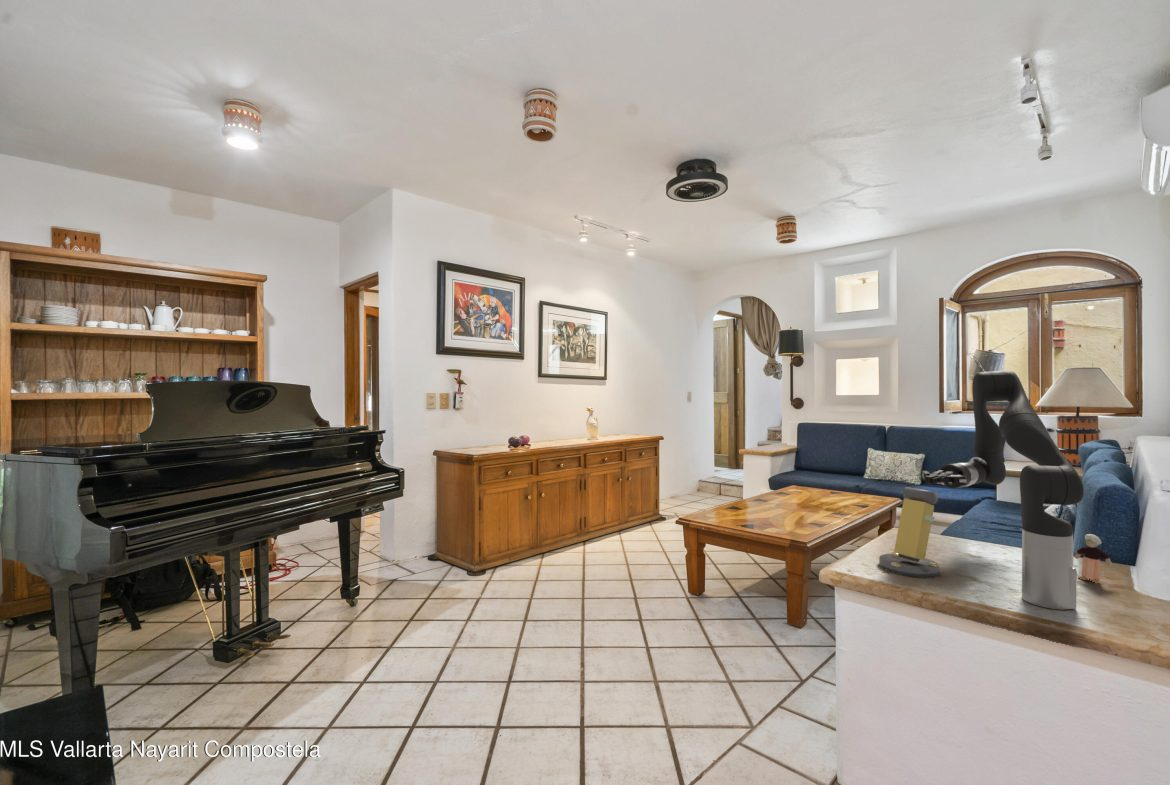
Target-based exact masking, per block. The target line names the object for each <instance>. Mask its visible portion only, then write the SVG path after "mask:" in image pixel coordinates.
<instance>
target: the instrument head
mask: <svg viewBox="0 0 1170 785" xmlns="http://www.w3.org/2000/svg"><path fill="white" fill-rule="evenodd" d="M902 497H903V501H902V508H901V512H900V516H899V523H898V529H897V533H896V539H895V545H894V550H893V552H895V553H898V554H899V557H901V558H905V559H908V560H912V561H916V562H919V560H924V561H925V558H926V555H927V550H928V544H929V539H930V531H931V527H932V522H934V521H935V516H933V515H934V512H935V511H934V510H935V505H936V504H937V503H938V500H939V494H938V492H937V491H934V490H927V489H921V488H916V487H909V486H905V487H904V488H903V490H902Z"/></svg>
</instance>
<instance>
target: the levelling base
mask: <svg viewBox="0 0 1170 785" xmlns="http://www.w3.org/2000/svg"><path fill="white" fill-rule="evenodd" d="M878 560H879V561H878V562H879V567H880V566H881V567H880V568H882V567H883V568H884V569H883V568H882V569H883V570H885V569H887V570H889V571H892V572H895V573H894V574H896V573H899V574H902V575H901V576H904V575H906V576H905V577H909V576H912V577H911V578H918V577H924V578H923V579H927V578H926V577H932V578H936V576H937V577H939V576H940V575H941V563H938V562H937V561H935V560H933V559H929V558H926V557H925V561H924V560H919V562H916V561H912V560H908V559H905V558H901V557H899V554H898V553H895V552H894V551H892V552H891V553H883V554H881V555H880V556H879V557H878ZM887 570H886V571H887ZM889 571H888V572H889ZM892 572H891V573H892ZM899 574H898V575H899Z"/></svg>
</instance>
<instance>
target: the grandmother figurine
mask: <svg viewBox="0 0 1170 785" xmlns="http://www.w3.org/2000/svg"><path fill="white" fill-rule="evenodd" d="M1084 540H1085V545H1084V546H1082V547H1080V548H1079V549H1077V550H1076V553H1075V555H1073V558H1075V559H1079V558H1080V557H1081V556H1082V555H1083V558H1082V563H1081V564H1082V566H1081V575H1079V576H1077V579H1078V578H1080V579H1079V580H1081V579H1083V580H1082V581H1089V582H1090V581H1092V582H1091V583H1093V582H1095V583H1094V584H1097V583H1100V581H1101V575H1102V564H1101V559H1102V560H1104V561H1105V562H1106V565H1108V566H1112V565H1113V562H1112V561H1111V558H1110V555H1109V554H1107V553H1106V552H1105V551H1103V550H1101V549H1100V548H1098V546H1099V545H1101V544H1102V540H1101V539H1100V538H1099V536H1097V535H1095V534H1093V533H1091V534H1090V533H1088V534H1085V535H1084ZM1088 579H1090V580H1088ZM1100 584H1101V583H1100Z"/></svg>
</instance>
